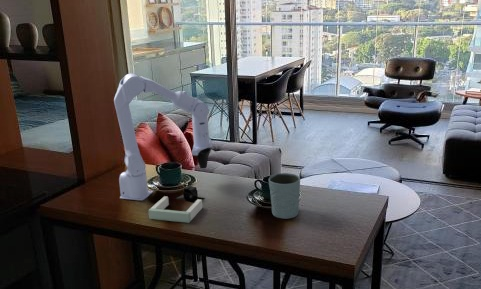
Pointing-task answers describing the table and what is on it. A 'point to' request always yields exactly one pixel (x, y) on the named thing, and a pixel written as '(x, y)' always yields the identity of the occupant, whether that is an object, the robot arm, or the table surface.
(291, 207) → the pale green cup
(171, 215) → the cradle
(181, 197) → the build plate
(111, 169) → the table surface
